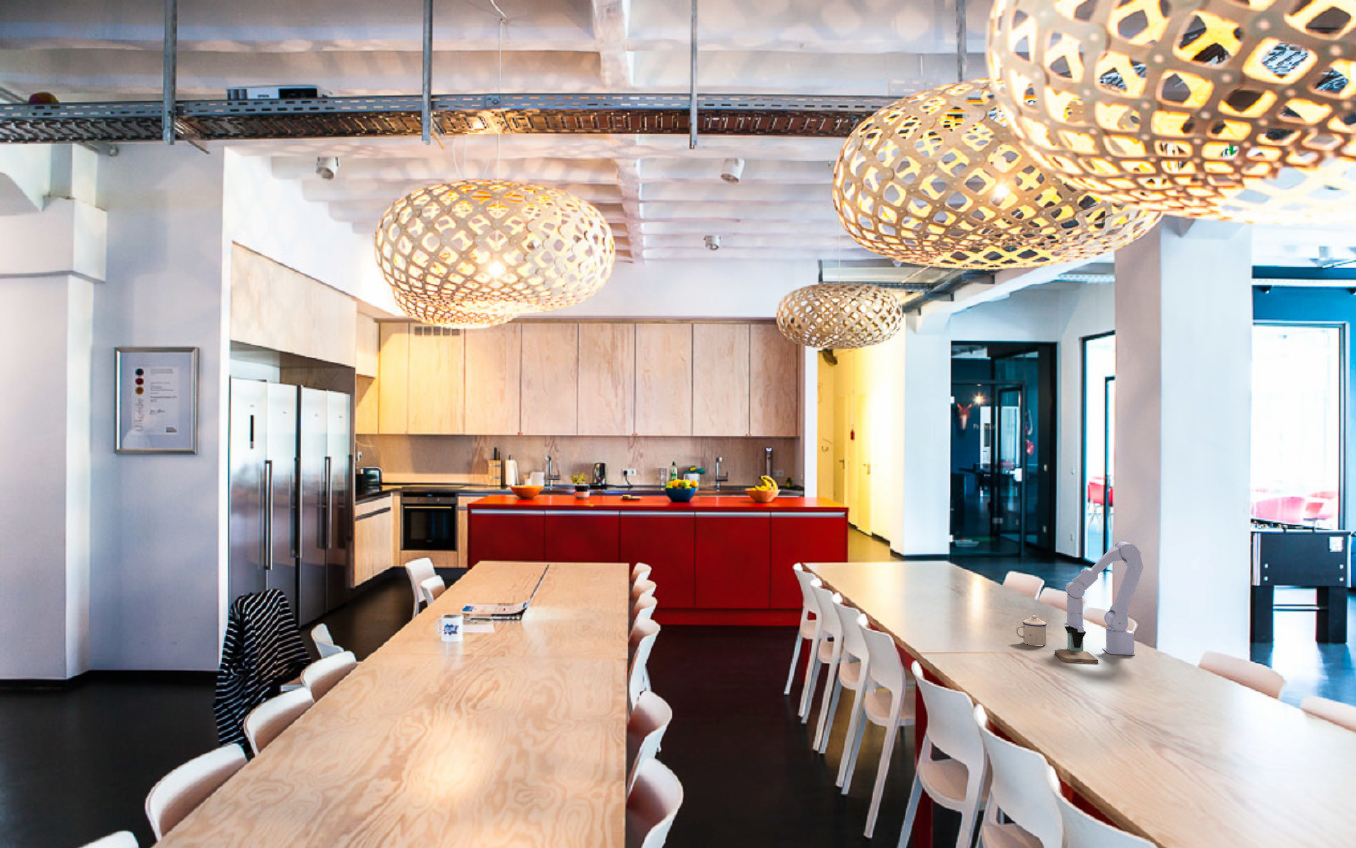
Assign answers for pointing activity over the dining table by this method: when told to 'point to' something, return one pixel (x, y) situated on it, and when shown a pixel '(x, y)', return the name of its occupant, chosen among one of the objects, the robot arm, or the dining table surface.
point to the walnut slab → (1076, 656)
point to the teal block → (1071, 645)
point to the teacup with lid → (1033, 631)
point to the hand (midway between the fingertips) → (1075, 646)
